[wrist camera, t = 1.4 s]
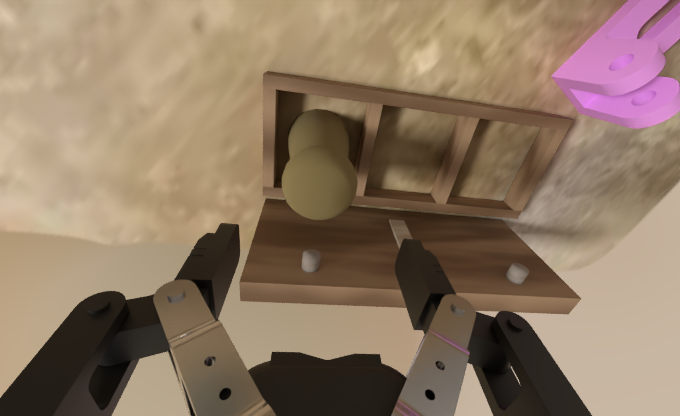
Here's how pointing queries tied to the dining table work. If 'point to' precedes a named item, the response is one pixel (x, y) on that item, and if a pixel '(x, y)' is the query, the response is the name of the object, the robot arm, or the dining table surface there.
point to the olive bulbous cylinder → (319, 166)
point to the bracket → (625, 68)
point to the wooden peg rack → (403, 219)
